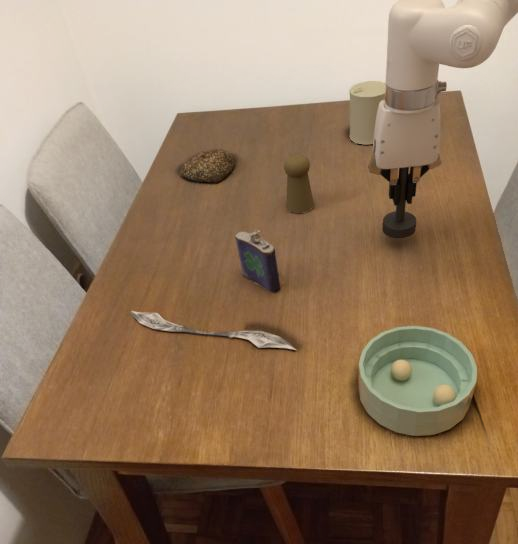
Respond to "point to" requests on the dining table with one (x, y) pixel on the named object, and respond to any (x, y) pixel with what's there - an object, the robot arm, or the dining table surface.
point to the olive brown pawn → (298, 184)
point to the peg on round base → (400, 213)
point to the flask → (258, 260)
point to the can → (365, 110)
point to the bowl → (416, 380)
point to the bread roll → (209, 166)
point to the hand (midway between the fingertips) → (401, 200)
